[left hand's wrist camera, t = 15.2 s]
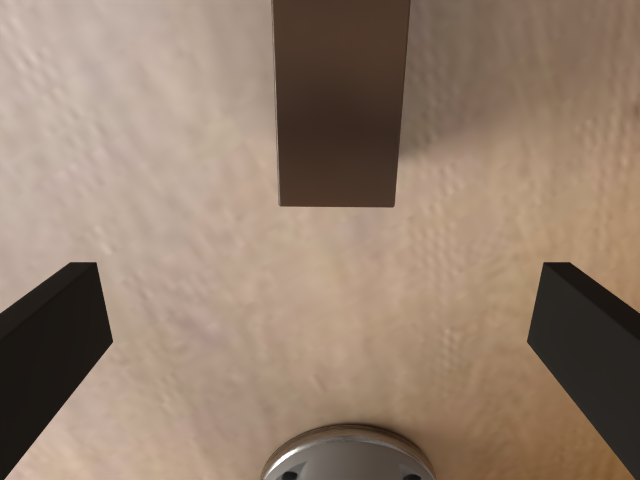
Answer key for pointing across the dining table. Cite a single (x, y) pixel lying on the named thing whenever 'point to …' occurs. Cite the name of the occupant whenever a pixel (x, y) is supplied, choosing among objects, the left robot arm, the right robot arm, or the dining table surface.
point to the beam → (338, 100)
